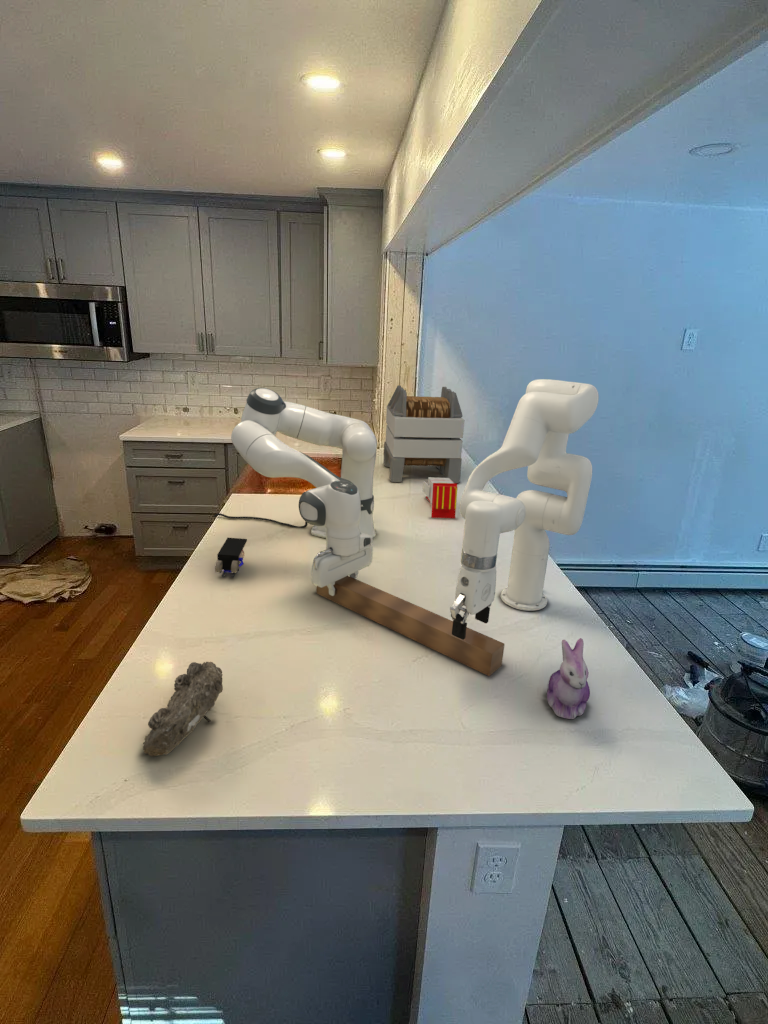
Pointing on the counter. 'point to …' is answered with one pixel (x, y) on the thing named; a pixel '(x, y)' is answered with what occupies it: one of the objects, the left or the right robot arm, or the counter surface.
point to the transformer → (424, 433)
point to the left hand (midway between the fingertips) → (342, 590)
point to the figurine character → (230, 556)
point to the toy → (441, 497)
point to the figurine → (569, 683)
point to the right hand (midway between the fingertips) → (470, 628)
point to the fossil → (184, 708)
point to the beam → (417, 624)
